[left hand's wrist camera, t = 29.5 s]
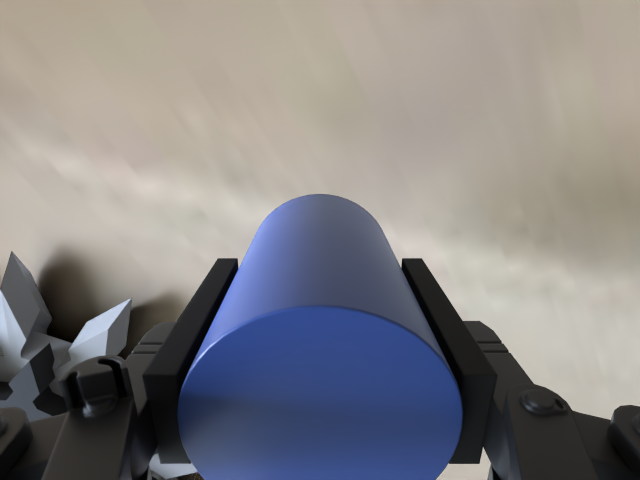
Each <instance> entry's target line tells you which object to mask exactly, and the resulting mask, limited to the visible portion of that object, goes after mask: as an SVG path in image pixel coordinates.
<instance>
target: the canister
mask: <svg viewBox="0 0 640 480" xmlns="http://www.w3.org/2000/svg"><path fill="white" fill-rule="evenodd" d="M177 418H178V427H179V434H180V437H181V441H182V444H183V447H184V449H185V451H186V453H187V456H188V458H189V459H190V461H191V462H192V464H193V465H194V467H195V469H196V470H197V471H198V472H199V474H200V475H201V476H202V477H203V478H204V479H205V480H436V479H437V477H438V476H439V475H440V474H441V473H442V471H443V470H444V469H445V468H446V466H447V464H448V463H449V461H450V460H451V458H452V456H453V454H454V452H455V450H456V447H457V445H458V442H459V438H460V434H461V430H462V420H463V407H462V398H461V394H460V391H459V387H458V384H457V382H456V379H455V377H454V375H453V373H452V371H451V369H450V367H449V365H448V363H447V361H446V359H445V357H444V355H443V353H442V351H441V349H440V347H439V344H438V342H437V340H436V338H435V336H434V334H433V332H432V330H431V328H430V326H429V324H428V322H427V320H426V318H425V316H424V314H423V312H422V310H421V308H420V306H419V304H418V302H417V300H416V298H415V296H414V294H413V292H412V290H411V288H410V285H409V283H408V281H407V279H406V277H405V275H404V273H403V271H402V269H401V267H400V265H399V263H398V261H397V259H396V257H395V255H394V253H393V251H392V249H391V247H390V245H389V243H388V241H387V239H386V237H385V235H384V233H383V231H382V229H381V227H380V225H379V224H378V222H377V221H376V220H375V219H374V218H373V216H372V215H371V214H370V213H369V212H367V211H366V210H365V209H364V208H362V207H361V206H359V205H358V204H356V203H354V202H352V201H350V200H348V199H345V198H342V197H339V196H334V195H327V194H314V195H306V196H301V197H298V198H295V199H292V200H290V201H288V202H286V203H284V204H282V205H281V206H279V207H278V208H276V209H275V210H274V211H273V212H272V213H270V214H269V215H268V216H267V218H266V219H265V220H264V221H263V222H262V224H261V225H260V227H259V229H258V230H257V232H256V235H255V237H254V239H253V241H252V243H251V245H250V247H249V249H248V251H247V253H246V255H245V257H244V259H243V261H242V263H241V265H240V267H239V269H238V271H237V273H236V275H235V277H234V279H233V282H232V284H231V286H230V288H229V290H228V292H227V294H226V296H225V298H224V300H223V302H222V304H221V306H220V308H219V310H218V312H217V314H216V316H215V318H214V320H213V322H212V324H211V326H210V328H209V331H208V333H207V335H206V337H205V339H204V341H203V343H202V345H201V347H200V349H199V351H198V353H197V355H196V357H195V359H194V361H193V363H192V365H191V367H190V369H189V371H188V374H187V376H186V378H185V380H184V383H183V385H182V388H181V392H180V396H179V400H178V413H177Z"/></svg>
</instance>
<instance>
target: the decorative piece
mask: <svg viewBox="0 0 640 480" xmlns="http://www.w3.org/2000/svg"><path fill="white" fill-rule="evenodd" d="M131 302H132V298H130V299H128V300H126V301H125V302H123V303H121V304H119V305H117V306H115V307H113V308H112V309H110V310H108V311H106V312H104V313H102V314H101V315H99V316H97V317H95V318H93V319H91V320H90V321H88V322H87V323H86V324H85V326H84V327H83V329H82V330H81V332H80V333H79V335H78V336H77V338H76V339H75V341H74V342H73V344H72V343H69V342H66V341H63V340H60V339H57V338H54V337H51V336H48V335H47V328H48V326H49V324H50V322H51V320H52V317H51V315H50V313H49V311H48V309H47V307H46V305H45V302H44V300H43V298H42V296H41V294H40V292H39V290H38V288H37V285H36V283H35V281H34V279H33V277H32V275H31V273H30V271H29V270H28V269H27V268H26V267H25V266H24V264H23V263H22V262H21V261H20V260H19V259H18V258H17V256H16V255H15V254H14V253H13V252H12V251H11V254H10V258H9V261H8V265H7V268H6V271H5V275H4V278H3V282H2V285H1V288H0V408H5V407H19V408H21V409H22V410H24V411H25V412H26V414H27V417H28V419H29V422H30V421H34V420H39V419H43V418H47V417H51V416H56V415H60V414H63V413H67V412H68V411H67V408H66V404H65V401H64V398H63V395H62V391H61V388H60V385H59V382H58V381H59V380H60V378H61V377H62V376H63V374H64V373H65V372H67V371H68V370H69V369H71V368H72V367H73V366H75V365H77V364H79V363H81V362H83V361H85V360H87V359H91V358H94V357H98V356H105V355H114V356H117V355H118V354H119V353H120V352H121V351H122V349H123V348H124V347H125V346H126V341H127V333H128V325H129V318H130V310H131ZM149 466H150V470H151V476H152V480H179V479H178V478H177V476H182V475H186V474H191V473H196V472H198V471H197V470H196V469H195V467H194V465H193V464H192V462H191V464H160V460H159V455H158V450H157V448H156V450H155V453H154V455H153V457H152V459H151V461H150V463H149Z"/></svg>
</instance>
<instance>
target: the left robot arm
mask: <svg viewBox="0 0 640 480" xmlns="http://www.w3.org/2000/svg"><path fill="white" fill-rule="evenodd" d="M401 269H402V271H403V273H404V275H405V277H406V279H407V281H408V283H409V285H410V288H411V290H412V292H413V294H414V296H415V298H416V300H417V302H418V304H419V306H420V308H421V310H422V312H423V314H424V316H425V318H426V320H427V322H428V324H429V326H430V328H431V330H432V332H433V334H434V336H435V338H436V340H437V342H438V344H439V347H440V349H441V351H442V353H443V355H444V357H445V359H446V361H447V363H448V365H449V367H450V369H451V371H452V373H453V375H454V377H455V379H456V382H457V384H458V387H459V391H460V394H461V398H462V407H463V420H462V430H461V434H460V438H459V442H458V445H457V447H456V450H455V452H454V454H453V456H452V458H451V460H450V461H449V464H479V463H480V458H481V454H482V449H483V447H484V449H485V451H486V453H487V456H488V458H489V460H490V462H491V466H490V470H489V475H488V479H487V480H640V407H639V406H633V405H626V406H620V407H618V408H617V409H616V410H614V413H613V416H612V419H611V420H608V419H604V418H600V417H595V416H591V415H587V414H582V413H579V412H575V411H572V409H571V408H570V406H569V405H568V403H567V402H566V401H565V400H564V399H562V398H561V397H560V396H559V395H558V394H556V393H554V392H553V391H551V390H549V389H547V388H545V387H542V386H539V385H535V384H534V383H533V382H532V381H531V380H530V378H529V377H528V376H527V374H526V373H525V372H524V370H523V369H522V368H521V366H520V365H519V364H518V362H517V361H516V360H515V359H514V357H513V356H512V355H511V353H509V352H508V349H507V348H506V347H505V345H504V344H502V341H501V340H500V339H499V337H498V336H497V335H496V334H495V332H494V331H493V330H492V329H490V328H489V327H487V326H486V325H484V324H483V323H482V322H480V321H462V319H461V318H460V316H459V315H458V313H457V312H456V310H455V309H454V307H453V306H452V304H451V303H450V301H449V300H448V298H447V296H446V295H445V293H444V292H443V290H442V289H441V287H440V286H439V284H438V283H437V281H436V280H435V278H434V277H433V275H432V274H431V272H430V270H429V269H428V267H427V266H426V264H425V263H424V261H423V260H422V258H402V268H401ZM237 271H238V259H237V258H218V259H217V261H216V262H215V264H214V265H213V267H212V269H211V270H210V272H209V273H208V275H207V276H206V278H205V279H204V281H203V282H202V284H201V285H200V287H199V288H198V290H197V291H196V293H195V295H194V296H193V298H192V299H191V301H190V302H189V304H188V305H187V307H186V308H185V310H184V311H183V313H182V314H181V316H180V318H179V319H178V321H177V322H160V323H159V324H157V325H156V326H154V327H153V328H151V329H150V330H148V331H147V332H146V333H145V335H144V336H143V337H142V339H141V340H140V341H139V343H138V345H136V347H135V348H134V349H133V351H132V353H131V354H130V355H129V356H128V357H127V359H126V360H124V359H123V358H122V357H119V356H114V355H105V356H98V357H94V358H91V359H87V360H85V361H83V362H81V363H79V364H77V365H75V366H73V367H72V368H71V369H69V370H68V371H67V372H65V373H64V374H63V376H62V377H61V378H60V380H59V381H58V382H59V385H60V388H61V391H62V395H63V398H64V401H65V404H66V408H67V411H68V412H67V413H63V414H60V415H56V416H51V417H47V418H43V419H39V420H34V421H30V422H29V419H28V417H27V414H26V412H25V411H24V410H22V409H21V408H19V407H5V408H0V480H152V476H151V470H150V466H149V463H150V461H151V459H152V457H153V455H154V453H155V450H156V448H157V450H158V455H159V460H160V464H191V461H190V459H189V458H188V456H187V453H186V451H185V449H184V447H183V444H182V441H181V437H180V434H179V427H178V418H177V413H178V400H179V396H180V392H181V388H182V385H183V383H184V380H185V378H186V376H187V374H188V371H189V369H190V367H191V365H192V363H193V361H194V359H195V357H196V355H197V353H198V351H199V349H200V347H201V345H202V343H203V341H204V339H205V337H206V335H207V333H208V331H209V328H210V326H211V324H212V322H213V320H214V318H215V316H216V314H217V312H218V310H219V308H220V306H221V304H222V302H223V300H224V298H225V296H226V294H227V292H228V290H229V288H230V286H231V284H232V282H233V279H234V277H235V275H236V273H237Z"/></svg>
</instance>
